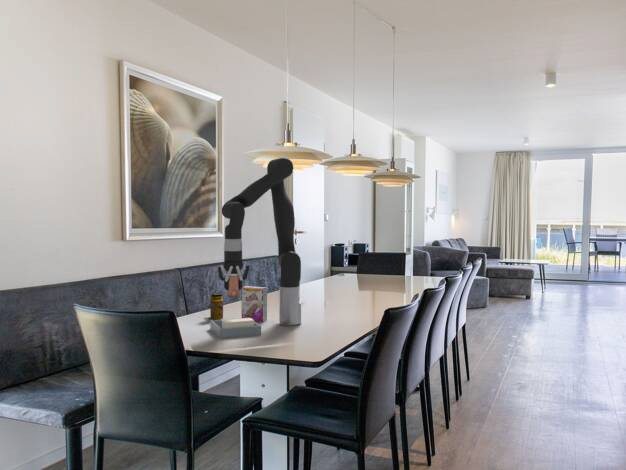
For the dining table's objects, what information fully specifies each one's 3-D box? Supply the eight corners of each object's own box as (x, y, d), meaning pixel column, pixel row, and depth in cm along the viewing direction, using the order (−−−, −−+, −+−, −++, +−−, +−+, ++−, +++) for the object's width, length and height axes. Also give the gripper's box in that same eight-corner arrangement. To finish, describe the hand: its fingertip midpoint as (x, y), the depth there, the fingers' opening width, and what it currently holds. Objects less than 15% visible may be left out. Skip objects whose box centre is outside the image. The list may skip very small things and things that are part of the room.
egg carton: (250, 331, 214) (250, 317, 213) (254, 334, 209) (254, 320, 209) (221, 334, 209) (221, 320, 209) (224, 336, 204) (224, 322, 204)
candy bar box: (240, 322, 236) (240, 287, 235) (245, 320, 240) (245, 285, 240) (262, 324, 232) (262, 288, 231) (267, 322, 237) (267, 287, 236)
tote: (248, 327, 225) (248, 317, 225) (261, 336, 208) (261, 326, 208) (210, 331, 218) (210, 320, 218) (220, 341, 201) (219, 329, 201)
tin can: (237, 295, 219) (237, 274, 218) (240, 297, 214) (240, 275, 214) (225, 296, 217) (225, 274, 216) (228, 297, 212) (228, 275, 212)
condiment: (226, 319, 243) (226, 294, 243) (209, 321, 239) (209, 295, 238) (220, 316, 249) (220, 292, 249) (203, 318, 245) (203, 293, 244)
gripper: (218, 250, 208) (218, 292, 209) (252, 249, 214) (252, 290, 215) (214, 249, 215) (214, 289, 216) (247, 248, 221) (247, 287, 221)
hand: (233, 289), depth 215 cm, fingers closed on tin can, 5 cm apart
